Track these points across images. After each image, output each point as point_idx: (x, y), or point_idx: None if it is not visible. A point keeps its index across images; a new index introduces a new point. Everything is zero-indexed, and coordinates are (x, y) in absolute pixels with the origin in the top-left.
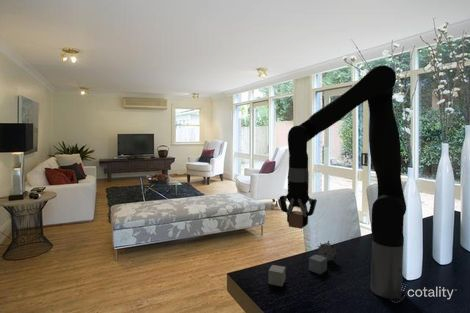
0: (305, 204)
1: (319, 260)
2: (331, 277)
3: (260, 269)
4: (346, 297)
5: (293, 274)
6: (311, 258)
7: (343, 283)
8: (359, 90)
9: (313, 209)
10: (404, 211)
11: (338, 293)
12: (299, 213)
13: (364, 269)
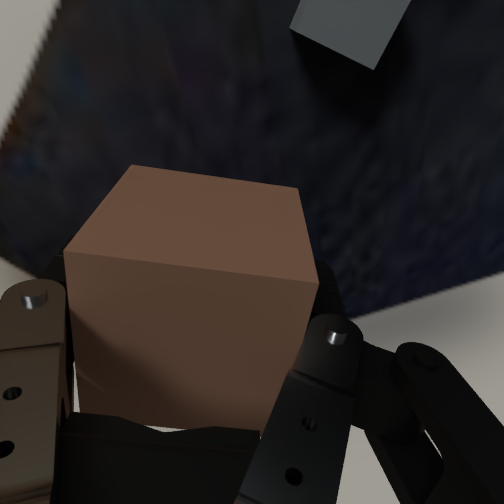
0: (332, 479)
1: (367, 49)
2: (414, 74)
3: (49, 135)
4: (452, 231)
5: (220, 122)
6: (313, 36)
7: (466, 117)
8: None
9: (480, 440)
10: None
11: (425, 214)
12: (223, 378)
13: None
